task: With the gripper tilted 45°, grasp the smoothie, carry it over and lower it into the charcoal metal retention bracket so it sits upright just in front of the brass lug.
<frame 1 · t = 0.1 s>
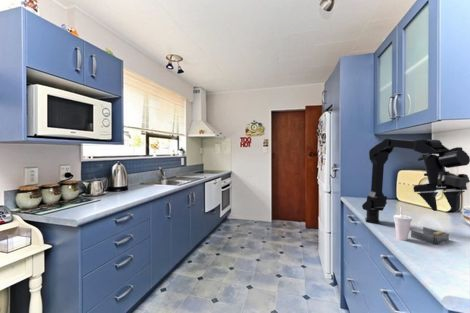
hand: (444, 210, 85), 15 cm above the countertop, tool pointing down, fingers open, 9 cm apart
smoothie: (401, 239, 96), on the countertop
bracket: (428, 238, 96), on the countertop
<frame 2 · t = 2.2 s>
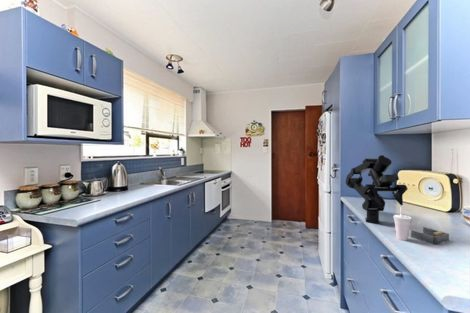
hand: (391, 204, 103), 13 cm above the countertop, tool tilted 45°, fingers open, 9 cm apart
nothing on the countertop moved.
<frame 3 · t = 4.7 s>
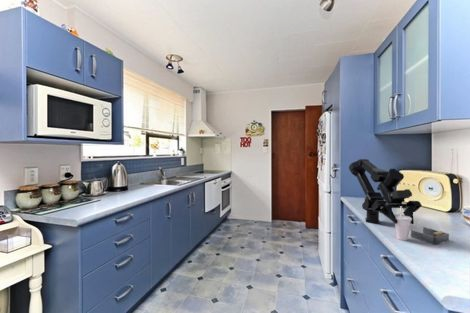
hand: (404, 223, 94), 7 cm above the countertop, tool tilted 45°, fingers closed on smoothie, 6 cm apart
smoothie: (401, 239, 96), on the countertop, touching gripper
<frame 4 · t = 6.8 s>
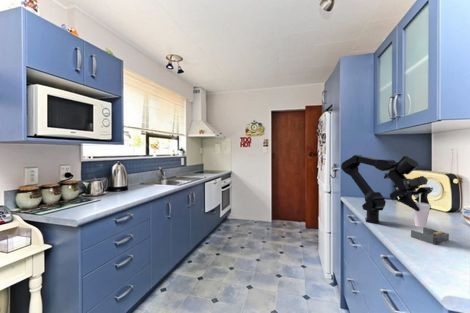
hand: (424, 210, 94), 13 cm above the countertop, tool tilted 45°, fingers closed on smoothie, 6 cm apart
smoothie: (420, 226, 96), point 5 cm above the countertop, touching gripper
when the fingers open (8 cm above the countertop, at t = 8.8 s): smoothie stays where it is, resting in bracket.
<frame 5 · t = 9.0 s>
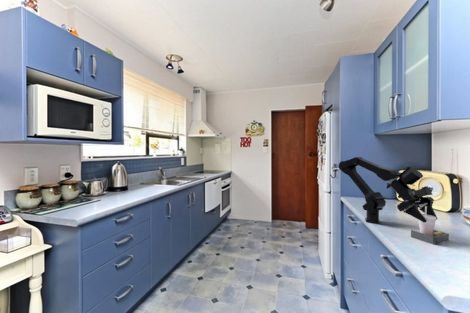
hand: (431, 220, 95), 8 cm above the countertop, tool tilted 45°, fingers open, 8 cm apart
smoothie: (426, 238, 97), resting in bracket
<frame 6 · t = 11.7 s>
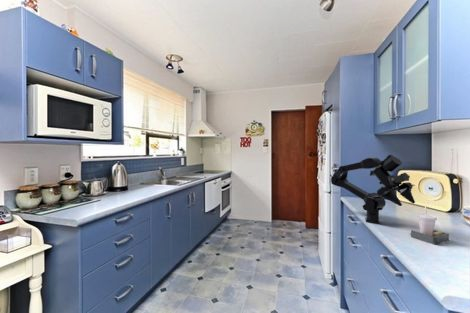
hand: (407, 204, 103), 13 cm above the countertop, tool tilted 45°, fingers open, 9 cm apart
nothing on the countertop moved.
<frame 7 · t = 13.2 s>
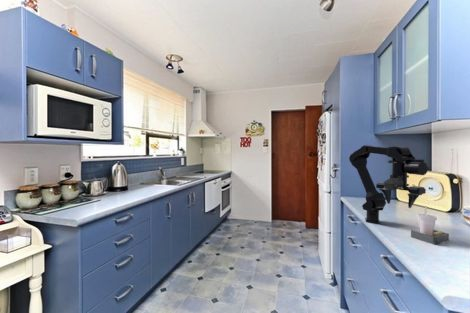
hand: (398, 205, 105), 12 cm above the countertop, tool pointing down, fingers open, 9 cm apart
nothing on the countertop moved.
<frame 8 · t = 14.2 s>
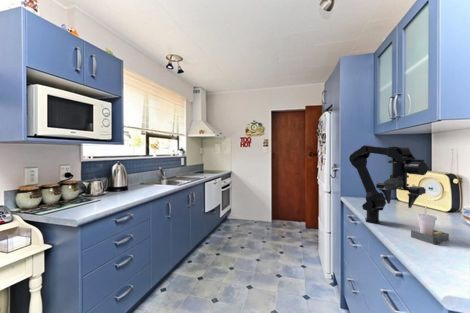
hand: (398, 205, 105), 12 cm above the countertop, tool pointing down, fingers open, 9 cm apart
nothing on the countertop moved.
at the end: smoothie 0.4 cm off-centre on the bracket, point 0.0 cm above the bracket's base; smoothie tilted 0°; the gripper is holding nothing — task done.
